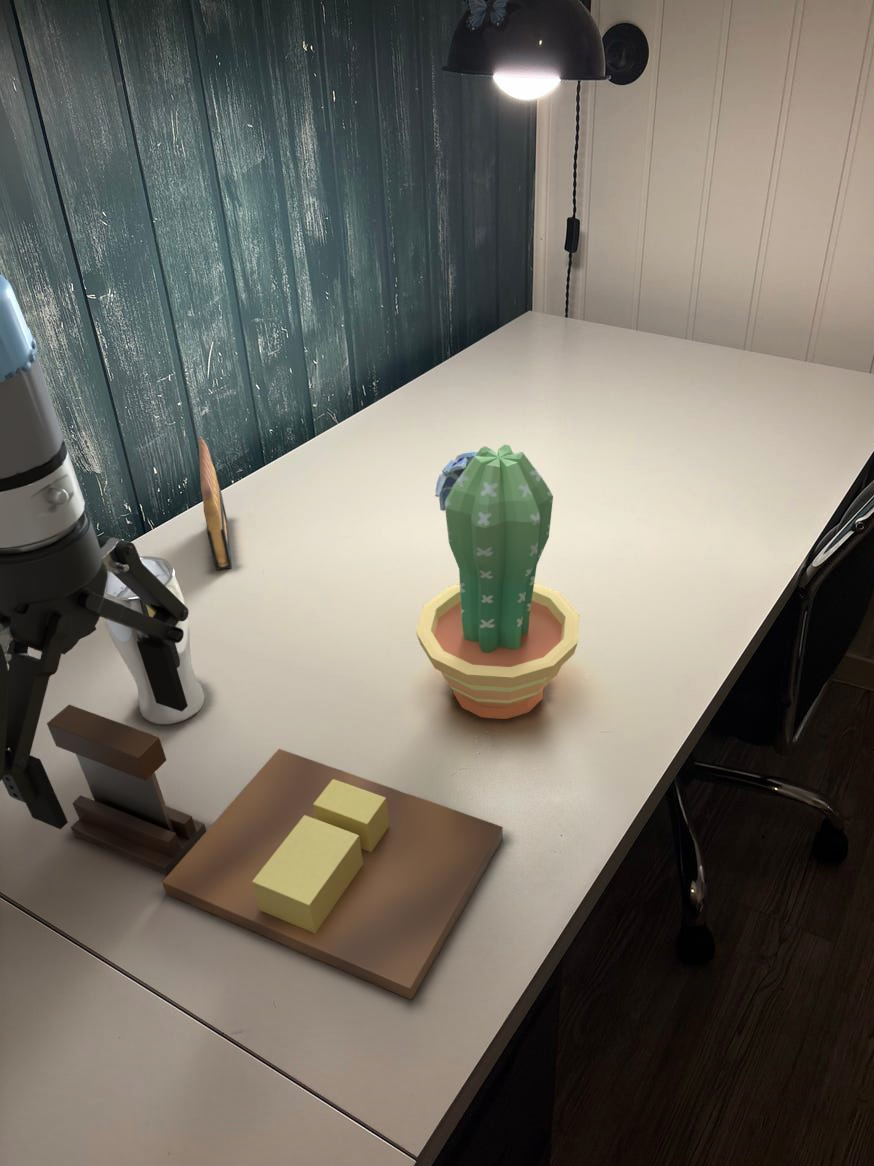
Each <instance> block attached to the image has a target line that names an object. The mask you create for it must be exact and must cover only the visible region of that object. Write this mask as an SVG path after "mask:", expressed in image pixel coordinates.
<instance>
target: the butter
mask: <svg viewBox="0 0 874 1166" xmlns="http://www.w3.org/2000/svg"><path fill="white" fill-rule="evenodd" d="M362 865H363V859H362V852H361V845H360V839H359V835H356V834H354V833H351V832H348V831H346V830H343V829H340V828H338V827H335V826H332V825H330V824H327V823H324V822H322V821H319V820H316V819H314V818H311V817H308V816H306V815H304V816H303V818H302V819H301V820H300V821H299V823H298V824H297V825H296V826H295V828H294V829H293V830H292V831H291V833H290V834H289V835H288V837H287V838H286V839H285V840H284V842H283V843H282V844H281V845H280V847H279V848H278V849H277V851H276V852H275V853H274V854H273V856H272V857H271V858H270V859H269V861H268V862H267V863H266V864H265V866H264V867H263V868H262V870H261V871H260V872H259V873H258V875H257V876H256V877H255V878H254V880H253V881H252V884H253V887H254V891H255V895H256V899H257V902H258V906H259V910H260V911H263V912H265V913H268V914H270V915H272V916H275V917H277V918H279V919H282V920H284V921H286V922H289V923H291V924H294V925H296V926H298V927H301V928H303V929H305V930H308V931H310V932H312V933H316V932H317V930H318V929H319V927H320V926H321V924H322V923H323V922H324V920H325V919H326V917H327V916H328V914H329V913H330V911H331V910H332V909H333V907H334V906H335V904H336V903H337V901H338V900H339V898H340V897H341V895H342V894H343V893H344V891H345V890H346V888H347V887H348V885H349V884H350V882H351V881H352V880H353V878H354V877H355V875H356V874H357V872H358V871H359V869H360V868H361V867H362Z"/></svg>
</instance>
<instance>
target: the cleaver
mask: <svg viewBox="0 0 874 1166" xmlns="http://www.w3.org/2000/svg"><path fill="white" fill-rule="evenodd" d="M46 725H47V728H48V730H49V732H50V735H51V737H52V740H53V742H54V744H55V746H56V747H57V748H60V749H62V750H64V751H67V752H70V753H73V754H75V756H76V758H77V761H78V763H79V766H80V768H81V771H82V773H83V776H84V778H85V781H86V783H87V785H88V788H89V791H90V793H91V795H92V798H93V800H94V801H97V802H99V803H102V804H104V805H107V806H109V807H112V808H114V809H117V810H119V811H121V812H124V813H126V814H129V815H131V816H134V817H136V818H139V819H141V820H144V821H146V822H149V823H151V824H154V825H156V826H159V827H161V828H164V829H166V830H168V831H171V832H173V833H175V832H174V829H173V826H172V823H171V820H170V817H169V814H168V811H167V808H166V806H167V805H166V802H165V799H164V796H163V793H162V790H161V787H160V784H159V780H158V778H157V774H156V772H157V771H158V769H160V768H161V767H162V765H163V764H165V763H166V762H167V757H166V753H165V751H164V747H163V745H162V741H161V738H160V736H158V735H154V734H152V733H149V732H146V731H144V730H141V729H138V728H135V727H132V726H129V725H127V724H124V723H122V722H118V721H116V720H114V719H111V718H108V717H105V716H102V715H99V714H97V713H95V712H92V711H88V710H85V709H83V708H80V707H77V706H75V705H72V704H68V705H66V706H65V707H64V708H62V710H61V711H59V712H58V713H57V714H56V715H55V716H54V717H52V718H51V719H50V720H49V721H48V722H47V723H46Z"/></svg>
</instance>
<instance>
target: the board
mask: <svg viewBox="0 0 874 1166" xmlns="http://www.w3.org/2000/svg"><path fill="white" fill-rule="evenodd" d="M333 779H334V780H337V781H340V782H343V783H346V784H349V785H351V786H354V787H357V788H360V789H363V790H365V791H368V792H371V793H374V794H377V795H380V796H382V797H385V798H386V802H387V811H388V820H389V827H388V829H387V830H386V832H385V833H384V835H383V836H382V837H381V839H380V840H379V842H378V843H377V845H376V846H375V848H374V849H373V851H372V852H368V851H366V850H363V849H361V852H362V859H363V865H362V867H361V868H360V869H359V871H358V872H357V874H356V875H355V877H354V878H353V880H352V881H351V882H350V884H349V885H348V887H347V888H346V890H345V891H344V893H343V894H342V895H341V897H340V898H339V900H338V901H337V903H336V904H335V906H334V907H333V909H332V910H331V911H330V913H329V914H328V916H327V917H326V919H325V920H324V922H323V923H322V924H321V926H320V927H319V929H318V930H317V932H316V933H312V932H310V931H308V930H305V929H303V928H301V927H298V926H296V925H294V924H291V923H289V922H286V921H284V920H282V919H279V918H277V917H275V916H272V915H270V914H268V913H265V912H263V911H260V910H259V906H258V902H257V899H256V895H255V891H254V887H253V884H252V881H253V880H254V878H255V877H256V876H257V875H258V873H259V872H260V871H261V870H262V868H263V867H264V866H265V864H266V863H267V862H268V861H269V859H270V858H271V857H272V856H273V854H274V853H275V852H276V851H277V849H278V848H279V847H280V845H281V844H282V843H283V842H284V840H285V839H286V838H287V837H288V835H289V834H290V833H291V831H292V830H293V829H294V828H295V826H296V825H297V824H298V823H299V821H300V820H301V819H302V818H303V816H304V815H306V816H308V817H311V818H314V819H316V817H315V811H314V806H313V804H314V802H315V801H316V800H317V799H318V797H319V796H320V795H321V794H322V792H323V791H324V790H325V788H326V787H327V786H328V785H329V783H330V782H331V781H332V780H333ZM503 830H504V828H503V825H502V826H501V825H498V824H495V823H493V822H490V821H487V820H484V819H482V818H479V817H475V816H472V815H470V814H467V813H464V812H461V811H458V810H456V809H453V808H450V807H447V806H444V805H442V804H439V803H436V802H432V801H430V800H427V799H425V798H422V797H418V796H416V795H413V794H410V793H407V792H405V791H401V790H398V789H397V788H392V787H390V786H387V785H384V784H381V783H378V782H375V781H373V780H369V779H368V778H364V777H361V776H359V775H356V774H353V773H350V772H347V771H344V770H341V769H338V768H336V767H332V766H330V765H327V764H324V763H321V762H319V761H316V760H313V759H310V758H308V757H304V756H302V755H298V754H296V753H293V752H290V751H287V750H284V749H281V748H278V749H277V750H276V751H275V753H273V755H272V756H271V757H269V759H268V760H267V762H265V764H264V765H263V766H262V767H261V769H259V771H258V772H256V774H255V776H253V778H252V779H251V780H250V781H249V782H248V784H246V786H244V788H243V789H242V790H241V791H240V792H239V794H238V795H237V796H236V797H235V798H234V799H233V800H232V802H231V803H230V804H228V806H227V807H226V808H225V809H224V811H222V813H221V814H220V815H219V816H218V817H217V818H216V820H215V821H214V822H213V823H212V824H211V825H210V827H208V829H206V832H205V833H204V834H203V836H202V837H201V838H200V839H199V840H198V841H197V842H196V844H195V845H194V846H193V847H192V848H191V849H190V850H189V851H188V853H187V854H186V855H185V856H184V857H183V858H182V859H181V861H180V862H179V863H178V864H177V865H176V866H175V867H174V869H173V870H172V871H171V872H170V873H169V874H168V875H166V877H165V878H164V879H163V880H162V881H161V884H162V886H163V890H164V893H165V894H166V895H168V896H170V897H173V898H176V899H177V900H180V901H182V902H184V903H187V904H189V905H191V906H194V907H196V908H198V909H201V910H203V911H205V912H207V913H210V914H212V915H215V916H217V917H219V918H221V919H224V920H226V921H228V922H231V923H232V924H235V925H238V926H240V927H242V928H244V929H246V930H249V931H251V932H254V933H256V934H258V935H261V936H263V937H264V938H265V937H266V938H267V939H270V940H272V941H275V942H277V943H279V944H282V945H284V946H286V947H289V948H290V949H292V950H296V951H297V952H299V953H303V954H305V955H307V956H309V957H311V958H313V959H317V960H318V961H321V962H323V963H326V964H328V965H330V966H332V967H335V968H337V969H339V970H341V971H344V972H345V973H349V974H351V975H353V976H356V977H357V978H360V979H362V980H365V981H367V982H369V983H370V984H371V983H372V984H374V985H376V986H378V987H380V988H383V989H385V990H387V991H390V992H392V993H395V994H397V995H399V996H402V997H404V998H406V999H408V1000H413V998H414V997H415V995H416V993H417V991H418V989H419V988H420V986H421V984H422V982H423V980H425V977H426V975H427V973H428V972H429V970H430V968H431V966H432V964H433V963H434V962H435V959H436V957H437V956H438V954H439V952H440V950H441V949H442V947H443V945H444V943H445V942H446V940H447V938H448V936H449V935H450V933H451V931H452V929H453V927H454V926H455V924H456V922H457V920H458V918H459V917H460V915H461V913H462V911H463V910H464V908H465V906H466V904H467V902H468V901H469V899H470V897H471V895H472V894H473V892H474V890H475V888H476V887H477V885H478V883H479V881H480V880H481V878H482V876H483V874H484V873H485V870H487V867H488V865H489V864H490V862H491V859H493V856H494V855H495V853H496V852H497V850H498V848H499V846H500V845H501V843H502V841H503V839H504V835H503V832H504V831H503Z"/></svg>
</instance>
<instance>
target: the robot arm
mask: <svg viewBox="0 0 874 1166" xmlns="http://www.w3.org/2000/svg"><path fill="white" fill-rule="evenodd" d="M37 347H38V345H37V341H36V339H35V336H34V335H33V334H32V332H31V329H30V328H29V327H28V324H27V323H26V319H25V317H24V315H23V312H22V309H21V307H20V305H19V302H18V299H17V296H16V295H15V292H14V289H13V287H12V285H11V283H10V282H9V281H8V280H7V279H6V277H4V276H3V275H2V274H0V782H1V781H2V783H3V785H4V787H5V789H6V791H7V793H8V796H10V797H11V798H13V799H15V800H16V801H19V802H22V803H24V804H25V805H26V807H27V809H28V811H29V813H30V815H31V817H32V819H34V820H36V821H39V822H41V823H43V824H46V825H48V826H50V827H53V828H56V829H58V830H62V829H63V828H64V827H65V826H66V825H67V824H68V823H69V820H68V819H67V817H66V814H65V812H64V809H63V806H62V805H61V803H60V801H59V798H58V796H57V794H56V792H55V789H54V787H53V785H52V783H51V780H50V778H49V776H48V774H47V771H46V769H45V768H44V765H43V763H42V760H41V758H38V757H36V756H33V755H31V752H32V748H33V744H34V740H35V736H36V732H37V729H38V725H39V720H40V716H41V712H42V709H43V705H44V700H45V696H46V694H47V689H48V686H49V681H50V677H51V676H53V675H56V673H57V671H58V669H59V666H60V662H61V661H60V660H61V658H62V655H66V654H67V653H69V652H70V651H72V649H73V648H74V647H75V646H76V645H77V644H78V642H79V641H80V640H81V639H84V638H86V637H88V636H90V635H91V634H92V633H94V632H95V631H96V630H97V627H96V626H97V624H98V622H99V620H100V618H103V619H104V620H105V619H108V620H110V621H113V622H116V623H118V624H121V625H124V626H126V627H129V628H132V629H134V630H137V631H140V632H142V633H145V634H147V635H148V638H146V637H142V638H140V639H139V640H138V641H137V645H138V648H139V651H140V654H141V657H142V660H143V663H144V667H145V670H146V673H147V676H148V679H149V682H150V685H151V688H152V691H153V695H154V698H155V701H156V703H158V704H161V705H164V706H167V707H170V708H173V709H176V710H179V711H181V712H182V711H183V710H184V709H185V708H186V707H187V706H188V705H187V701H186V698H185V694H184V691H183V688H182V684H181V681H180V678H179V674H178V671H177V668H178V667H179V666H180V658H179V655H178V651H177V648H176V644H175V643H179V642H180V641H181V640H182V639H183V635H184V632H183V630H182V629H181V628H178V627H175V626H176V625H177V623H178V622H179V621H185V620H186V619H187V617H188V618H189V614H190V611H189V609H188V607H187V605H186V606H185V605H184V604H183V603H182V602H181V601H180V600H179V599H178V598H177V597H176V596H175V595H174V594H173V593H172V592H171V591H170V590H169V589H168V588H167V587H166V586H165V585H164V584H163V583H162V582H161V581H160V580H159V579H158V578H157V577H156V576H155V575H154V574H152V573H151V572H150V571H149V570H148V569H147V568H146V567H145V566H144V565H143V564H142V562H141V559H140V557H141V556H140V555H139V551H138V550H137V547H136V545H135V543H134V542H131V541H128V540H124V539H120V538H116V537H113V536H109V535H101V536H100V537H99V539H98V537H97V534H96V532H95V528H94V525H93V522H92V519H91V515H89V513H88V511H86V510H85V503H86V502H85V499H84V496H83V493H82V490H81V486H80V483H79V480H78V478H77V474H76V472H75V468H74V465H73V461H72V459H71V457H70V453H69V450H68V448H67V445H66V442H65V440H64V435H63V431H62V429H61V425H60V422H59V418H58V415H57V412H56V409H55V406H54V403H53V399H52V397H51V393H50V390H49V387H48V384H47V381H46V378H45V374H44V371H43V368H42V364H41V361H40V358H39V355H38V349H37ZM107 571H109V572H112V573H113V574H114V575H115V576H116V577H117V578H118V579H119V580H120V581H121V582H122V583H124V584H125V585H126V586H127V587H128V588H129V589H130V590H131V591H132V592H133V593H134V594H135V595H137V596H138V597H139V598H140V599H141V600H142V601H143V602H144V603H145V604H146V605H147V606H148V607H150V608H151V609H152V610H153V611H154V612H155V614H154V616H153V617H150V616H147V615H145V614H142V613H140V612H137V611H135V610H132V609H130V608H128V607H125V606H124V605H122V604H119V603H117V602H114V601H112V600H109V599H107V598H105V597H104V592H105V587H106V582H107V577H108V573H107ZM29 648H30V649H33V650H35V651H38V652H40V653H41V654H40V658H37V657H35V656H31V655H30V654H29Z"/></svg>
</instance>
